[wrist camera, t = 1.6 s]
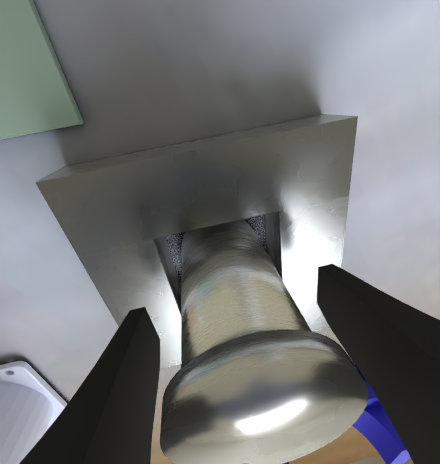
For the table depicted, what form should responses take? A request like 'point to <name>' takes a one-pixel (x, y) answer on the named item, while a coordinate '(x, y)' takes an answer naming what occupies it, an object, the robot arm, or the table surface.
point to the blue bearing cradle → (380, 430)
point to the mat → (30, 75)
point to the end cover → (250, 362)
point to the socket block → (208, 212)
